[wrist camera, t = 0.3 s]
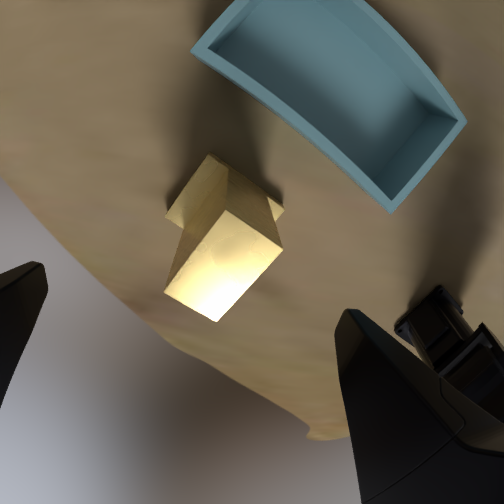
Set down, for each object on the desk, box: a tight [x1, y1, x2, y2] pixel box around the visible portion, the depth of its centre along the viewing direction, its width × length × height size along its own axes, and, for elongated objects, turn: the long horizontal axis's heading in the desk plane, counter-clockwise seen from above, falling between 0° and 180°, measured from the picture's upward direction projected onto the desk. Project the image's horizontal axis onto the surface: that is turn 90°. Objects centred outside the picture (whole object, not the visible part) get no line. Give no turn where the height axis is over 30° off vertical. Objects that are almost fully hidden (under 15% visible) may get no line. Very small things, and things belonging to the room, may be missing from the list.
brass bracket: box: [164, 152, 285, 322], centre depth 17 cm, size 6×5×8 cm
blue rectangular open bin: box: [190, 0, 468, 214], centre depth 15 cm, size 14×8×4 cm, turn 52°
